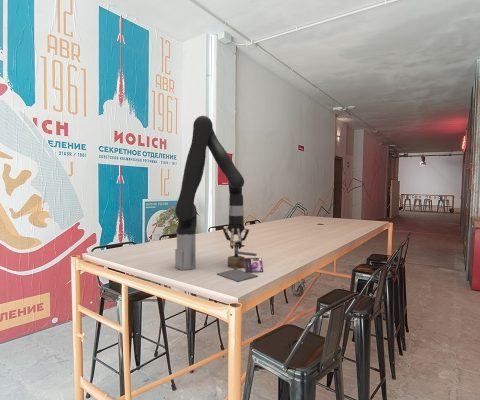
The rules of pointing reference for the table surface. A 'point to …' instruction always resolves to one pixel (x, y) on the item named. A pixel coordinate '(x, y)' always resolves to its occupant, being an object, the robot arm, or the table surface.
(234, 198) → the robot arm
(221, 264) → the table surface
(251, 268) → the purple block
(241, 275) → the rubber mat
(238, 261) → the block
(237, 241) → the t key
